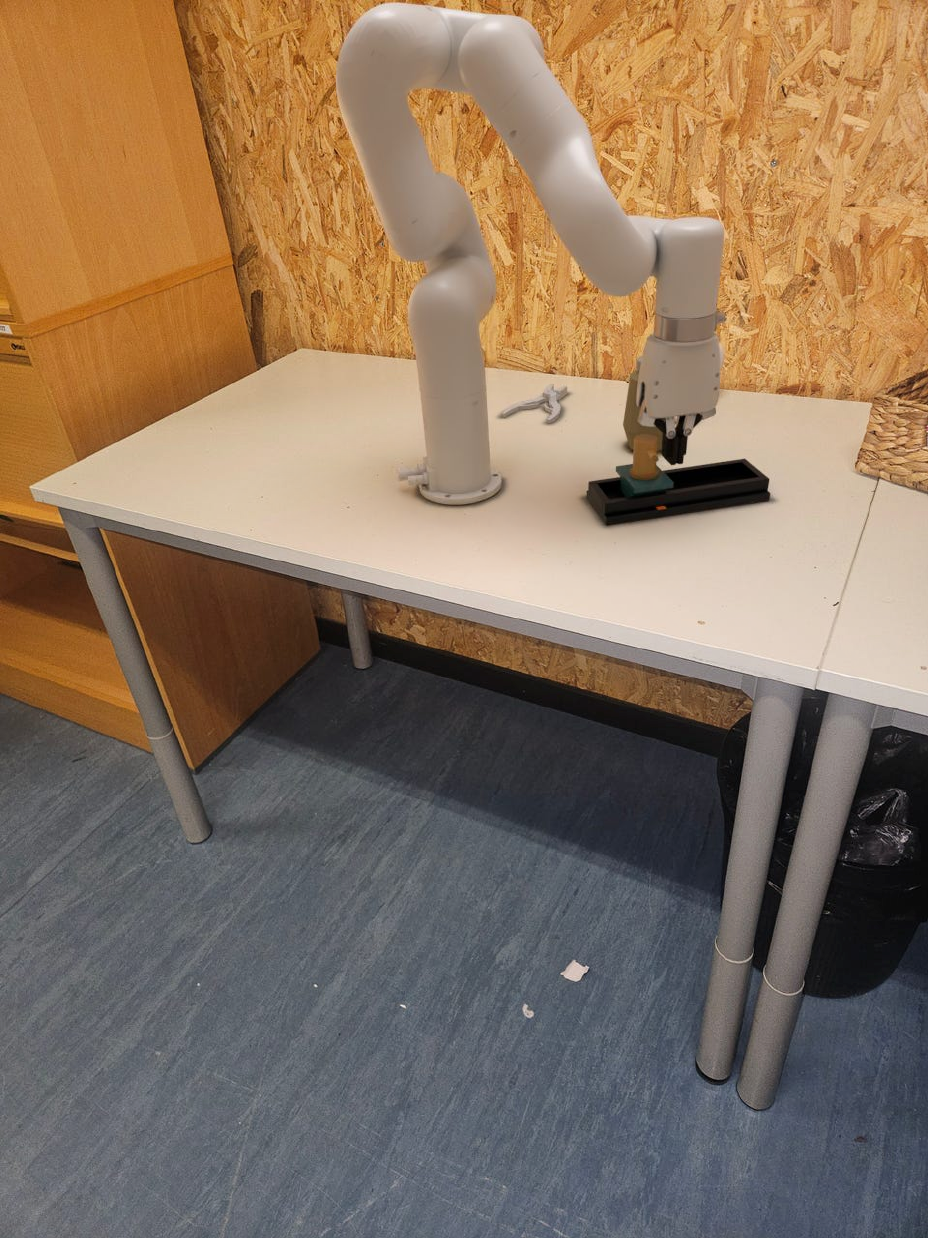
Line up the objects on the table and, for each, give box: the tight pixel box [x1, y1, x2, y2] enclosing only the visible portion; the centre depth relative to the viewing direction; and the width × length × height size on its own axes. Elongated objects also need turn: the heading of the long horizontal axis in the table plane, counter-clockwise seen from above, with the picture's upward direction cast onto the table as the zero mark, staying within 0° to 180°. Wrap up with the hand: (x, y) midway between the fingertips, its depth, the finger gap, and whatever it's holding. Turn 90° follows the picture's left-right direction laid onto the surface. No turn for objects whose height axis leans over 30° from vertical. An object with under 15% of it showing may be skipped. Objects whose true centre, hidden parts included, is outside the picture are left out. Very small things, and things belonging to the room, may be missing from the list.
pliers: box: [501, 383, 568, 425], centre depth 151 cm, size 10×2×15 cm
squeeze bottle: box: [622, 332, 663, 452], centre depth 128 cm, size 8×8×18 cm
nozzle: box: [615, 434, 673, 497], centre depth 114 cm, size 6×8×8 cm
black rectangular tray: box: [585, 458, 771, 526], centre depth 117 cm, size 24×9×3 cm, turn 101°
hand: (673, 460), depth 114 cm, fingers closed
